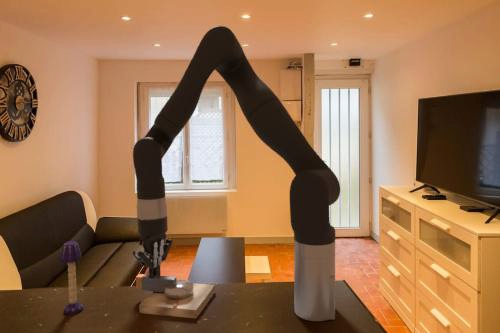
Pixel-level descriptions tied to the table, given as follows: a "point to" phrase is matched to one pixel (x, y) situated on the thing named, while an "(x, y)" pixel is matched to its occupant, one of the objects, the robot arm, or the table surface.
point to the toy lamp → (71, 275)
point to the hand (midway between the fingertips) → (154, 279)
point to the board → (178, 302)
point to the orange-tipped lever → (165, 285)
